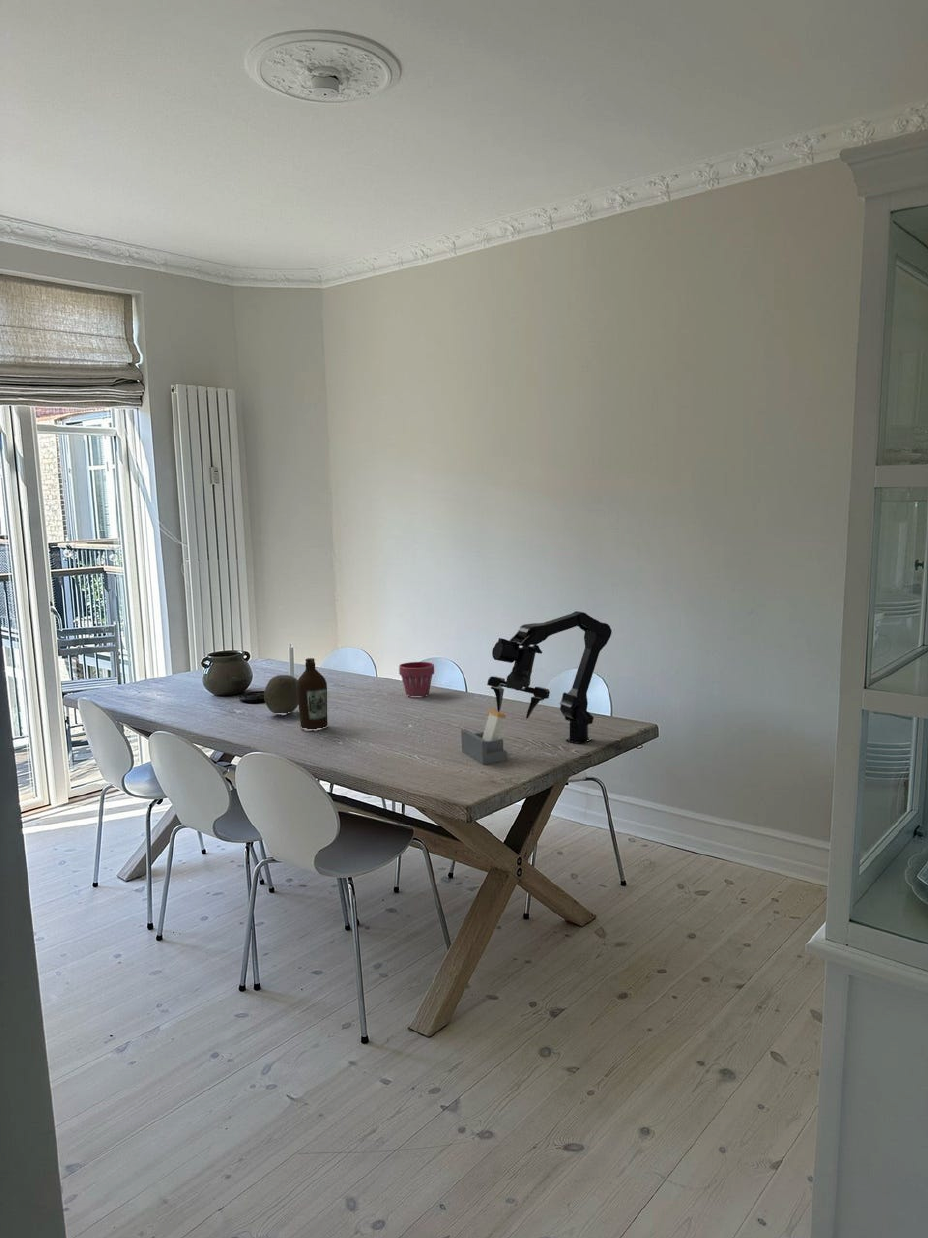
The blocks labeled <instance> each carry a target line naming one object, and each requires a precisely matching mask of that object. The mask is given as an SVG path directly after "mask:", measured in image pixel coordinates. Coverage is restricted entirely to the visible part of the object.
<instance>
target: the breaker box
mask: <svg viewBox="0 0 928 1238" xmlns="http://www.w3.org/2000/svg"><path fill="white" fill-rule="evenodd" d="M460 731H461V733H460V735H461V751H462V753H464V754H466V755H468V756H469V758H472V759H473V760H475V761H476V762H478V763H479V764H481V765H489V764H495V763H496V764H497V763H501V762H508V751H507V750H506V749H504V739H503V738H498V739H495V740H488V741H485V740H484V739H482V737H483V734H484V731H479V732H472V731H470V730H468V729H467V728H463V729H460Z"/></svg>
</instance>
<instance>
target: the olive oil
mask: <svg viewBox="0 0 928 1238" xmlns="http://www.w3.org/2000/svg"><path fill="white" fill-rule="evenodd" d="M304 660H305V664H304V665H305V670H304V671H303V673H302V674H301V675H300V676H299V678H297V680H298V681H297V685H296V689H297V697H298V713H299V725H300V728H301V727H302V728H307V729H317V728H323V727H326V726H327V725H329V724H328V723H329V722H328V684H327V681H326V678H325V677H324V676H323V675H322V674H321V673H320V672H319V671H318V670H317V669H316V659H315V658H314V657H309V658H305V659H304Z"/></svg>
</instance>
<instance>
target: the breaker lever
mask: <svg viewBox="0 0 928 1238" xmlns="http://www.w3.org/2000/svg"><path fill="white" fill-rule="evenodd" d="M488 713H489V714H488V717H487V720H486V724H485V727H484V731H483V732H484V734H483V737H482V739H484V740H485V741H488V740H495V739H499V735H500V732H501V729H502V725H503V721H504V719H506V716H507V715H506V714H505V713H502V712H501V711H498V709H497V710H496V709H492V708H489V709H488Z"/></svg>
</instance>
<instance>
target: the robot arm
mask: <svg viewBox="0 0 928 1238" xmlns="http://www.w3.org/2000/svg"><path fill="white" fill-rule="evenodd" d="M575 627H579V629H580V630H581V631H583V632H584V635H583V640H584V650H583V653H582V656H581V657H580V662H579V665H578V669H577V672H576V675H575V676H574V677H575V678H574V681H573V684H572V687H571V689H570V690H569V691H568V692H563V693H562V697H561V701H560V702H559V703H558V704H559V705H560V707H559V710H560V712H561V714H562V715H563V716H564V719H565V721H568V722H569V737H568V738H566V739H565V741H566V742H567V741H573V742H572V743H574V742H580V743H584V742H586V741H587V740H589V737H590V736H589V725H591V724H593V722H594V721H593V720H594V719H595V718H594V716H593V715H592V714H591V713H590V712H589V711H588V703H589V702H588V696H587V695H588V693H587V692H588V690H589V687H590V684H591V681H592V677H593V674H594V671H595V669H596V664H597V661H598V658H599V655H600V653H601V651H602V650H603V649H604V648H605V646H606V645H607V644H608V642H609V640H610V638H611V636H612V633H613V632H612V631H613V630H612V628H611V626H610V625H609V624H608V622H607V623H606V622H601V621H600V620H597V619H596V618H593V617H592V616H590V615H588V614H587V613H586V612H584V611H574V612H573V613H569V614H566V615H564V616H560V617H558V618H557V617H556V618H554V619H551V620H547V621H545V622H538V623H537V622H535V623H534V622H533V623H527V624H525V623H524V624H522V625H521V626H520V627H519V629H518V631H517V632H516V633H515V634H514V635H513V636H512V637H511V638H510V639H509V640H508V639H505V638H501V637H498V641H496V643H495V644H494V645H493V646H494V647H492V651H491V654H492V659H493V660H494V661H499V662H500V661H501V662H503V663H508V664H509V663H510V664H512V663H514V664H513V666H512V669H511V672H510V673H509V674H508V676H506V678H503V677H499V676H490V677H488V678H487V679H488V680H487V686H490V689H491V690H493V692H494V695H495V700H496V707H497V711H499V712H501V708H502V704H503V703H502V702H503V699H504V691H505V688H507V689H511V690H515V691H518V692H519V691H520V692H524V693H527V694H532V695H533V696H531V697H530V703H529V706H528V710H527V712H526V717H525V718H526V720H527V719H529V717H530V716H531V714H532V713H533V711H534V709H535V708H536V706H537V705H538V704H539V703H540V701H545V700H546V699H549V698H550V694H551V692H550V689H549V688H545V687H541V686H535V687H531V686H530V685H531V676H532V674H533V673H532V672H533V667H534V662H535V658H536V654H543V651H542V649H541V648H540V646H539V644H540V643H542V642H544V641H546V640H547V639H548V638H549V637H550V636H552V635H555V634H558V633H560V632H564V631H567V630H570V629H573V628H575ZM531 645H532V646H531ZM503 687H504V688H503ZM580 743H579V744H580ZM586 743H587V742H586ZM584 744H585V743H584Z"/></svg>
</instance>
